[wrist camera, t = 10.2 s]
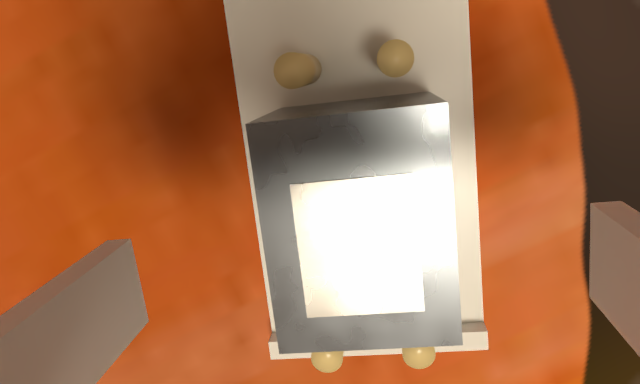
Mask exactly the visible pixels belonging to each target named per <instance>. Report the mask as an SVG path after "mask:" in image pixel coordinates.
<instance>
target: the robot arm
mask: <svg viewBox="0 0 640 384" xmlns="http://www.w3.org/2000/svg"><path fill="white" fill-rule="evenodd" d="M590 215H591V216H590V293H589V297H590V298H591V300H592V301H593V302H594V303H595V304H596V305H597V307H598V308H599V309H600V310H601V311H602V313H603V314H604V315H605V316H606V317H607V319H609V321H610V322H611V323H612V324H613V326H614V327H615V328H616V329H617V330H618V332H619V333H620V334H621V335H622V336H623V338H624V339H625V340H626V341H627V342H628V343H629V345H630V346H631V347H632V348H633V349H634V351H635V352H636V353H637V354H638V355H639V357H640V213H639V212H638V211H636V210H635V209H633V208H631V207H629V206H628V205H627V204H625V203H623V202H622V201H614V202H601V203H591V213H590ZM148 321H149V320H148V315H147V311H146V306H145V302H144V297H143V292H142V288H141V283H140V279H139V274H138V270H137V265H136V260H135V256H134V251H133V247H132V242H131V239H120V240H107V241H106V242H104V243H103V244H101V245H100V246H99V247H97V248H96V249H94V250H93V251H91V252H90V253H89V254H87V255H86V256H84V257H83V258H82V259H80V260H79V261H77V262H76V263H74V264H73V265H72V266H70V267H69V268H67V269H66V270H65V271H63V272H62V273H60V274H59V275H57V276H56V277H55V278H53V279H52V280H50V281H49V282H48V283H46V284H45V285H43V286H42V287H40V288H39V289H38V290H36V291H35V292H33V293H32V294H31V295H29V296H28V297H26V298H25V299H23V300H22V301H21V302H19V303H18V304H16V305H15V306H14V307H12V308H11V309H9V310H8V311H6V312H5V313H4V314H2V315H1V316H0V384H96V383H97V382H98V380H99V379H100V378H101V377H102V376H103V375H104V373H105V372H106V371H107V370H108V369H109V367H110V366H111V365H112V364H113V363H114V362H115V360H116V359H117V358H118V357H119V356H120V354H121V353H122V352H123V351H124V350H125V349H126V347H127V346H128V345H129V344H130V343H131V341H132V340H133V339H134V338H135V337H136V336H137V334H138V333H139V332H140V331H141V330H142V328H143V327H144V326H145V325H146V324H147V323H148Z"/></svg>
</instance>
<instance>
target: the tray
mask: <svg viewBox="0 0 640 384" xmlns="http://www.w3.org/2000/svg"><path fill="white" fill-rule="evenodd" d="M223 2H224V8H225V15H226V22H227V29H228V36H229V42H230V49H231V56H232V63H233V70H234V76H235V83H236V90H237V97H238V104H239V110H240V117H241V124H242V131H243V138H244V144H245V151H246V158H247V165H248V172H249V178H250V185H251V192H252V199H253V206H254V212H255V219H256V226H257V233H258V240H259V246H260V253H261V260H262V267H263V274H264V280H265V287H266V294H267V301H268V308H269V314H270V321H271V328H272V334H271V337H270V339H269V342H268V343H269V350H270V356H271V359H293V358H311V361H312V364H313V365H314V367H315V368H316V369H318V370H319V371H322V372H326V373H330V372H334V371H336V370H337V369H339V368H340V366H341V364H342V361H343V356H360V355H383V354H402V355H403V359H404V361H405V362H406V364H407V365H409V366H410V367H412V368H416V369H423V368H426V367H428V366H430V365H431V364H432V363H433V361H434V360H435V352H450V351H472V350H488V331H487V329H486V326H485V324H484V318H483V297H482V277H481V256H480V235H479V214H478V193H477V172H476V152H475V131H474V110H473V89H472V68H471V47H470V27H469V6H468V0H223ZM427 91H429V92H431V93H433V94H435V95H436V96H438V97H440V98H442V99H443V100H445V101H447V102H448V108H449V124H450V141H451V157H452V174H453V190H454V207H455V223H456V239H457V256H458V272H459V289H460V305H461V322H462V338H463V345H459V346H438V347H417V348H396V349H375V350H354V351H333V352H313V353H292V354H279V349H278V342H277V336H276V329H275V322H274V315H273V309H272V302H271V295H270V288H269V282H268V275H267V268H266V261H265V254H264V248H263V241H262V234H261V227H260V221H259V214H258V207H257V200H256V193H255V187H254V180H253V173H252V166H251V160H250V153H249V146H248V139H247V133H246V126H245V124H246V123H249V122H251V121H253V120H255V119H257V118H260V117H262V116H264V115H266V114H268V113H271V112H273V111H275V110H277V109H279V108H283V107H292V106H301V105H310V104H319V103H328V102H337V101H346V100H355V99H364V98H373V97H382V96H391V95H400V94H409V93H418V92H427Z"/></svg>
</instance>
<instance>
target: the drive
mask: <svg viewBox="0 0 640 384" xmlns="http://www.w3.org/2000/svg"><path fill="white" fill-rule="evenodd" d="M245 126H246V133H247V139H248V146H249V153H250V160H251V166H252V173H253V180H254V187H255V193H256V200H257V207H258V214H259V221H260V227H261V234H262V241H263V248H264V254H265V261H266V268H267V275H268V282H269V288H270V295H271V302H272V309H273V315H274V322H275V329H276V336H277V342H278V349H279V354H292V353H313V352H333V351H354V350H375V349H396V348H417V347H438V346H459V345H463V338H462V322H461V305H460V289H459V272H458V256H457V239H456V223H455V207H454V190H453V174H452V157H451V141H450V124H449V108H448V102H447V101H445V100H443V99H442V98H440V97H438V96H436V95H435V94H433V93H431V92H429V91H427V92H418V93H409V94H400V95H391V96H382V97H373V98H364V99H355V100H346V101H337V102H328V103H319V104H310V105H301V106H292V107H283V108H279V109H277V110H275V111H273V112H271V113H268V114H266V115H264V116H262V117H260V118H257V119H255V120H253V121H251V122H249V123H246V124H245Z"/></svg>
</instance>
